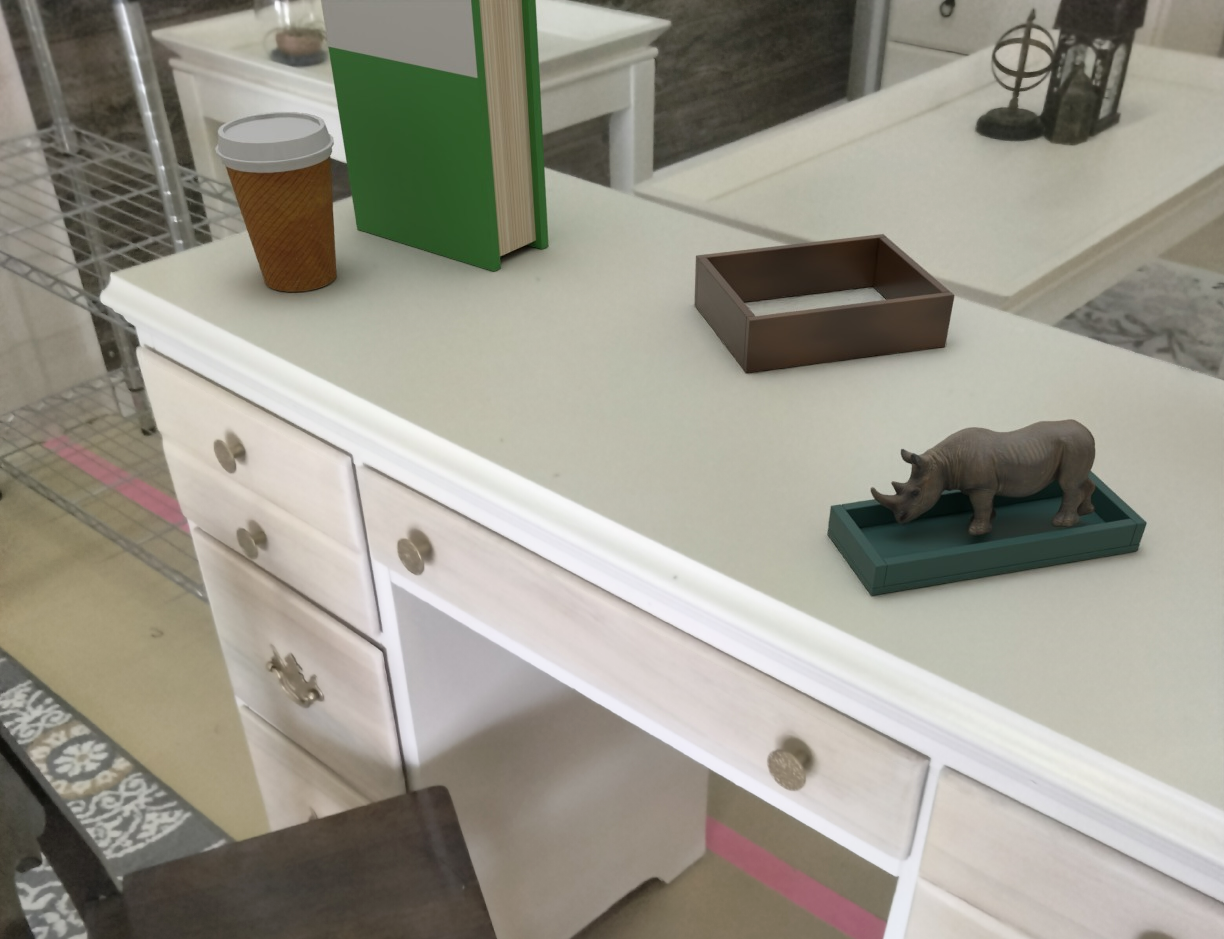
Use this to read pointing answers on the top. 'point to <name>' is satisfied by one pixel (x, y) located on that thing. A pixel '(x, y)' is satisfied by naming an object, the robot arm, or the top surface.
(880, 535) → the tray
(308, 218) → the disposable coffee cup
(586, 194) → the top surface
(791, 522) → the top surface
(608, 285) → the top surface
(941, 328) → the open box
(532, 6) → the hardback book
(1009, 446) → the rhino figurine
